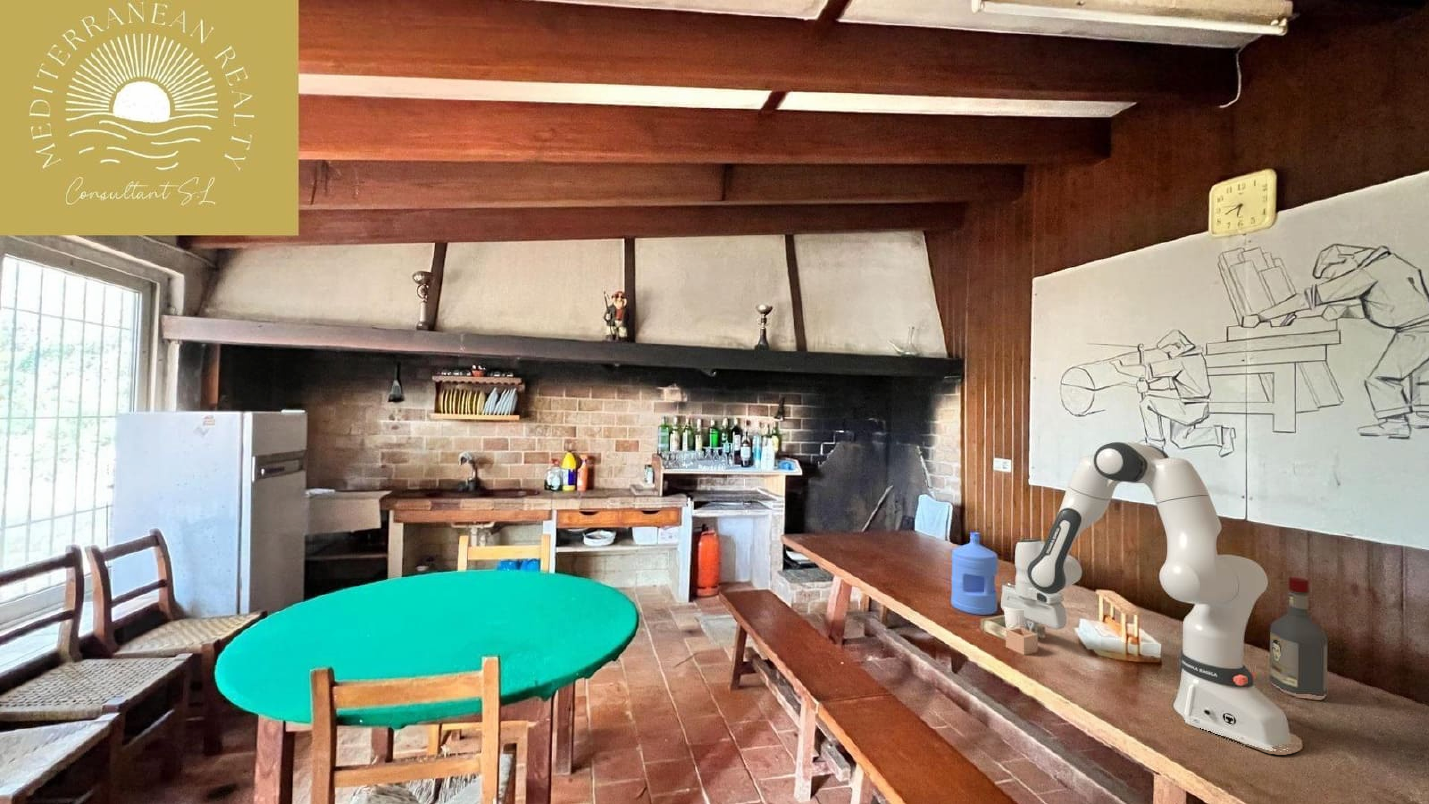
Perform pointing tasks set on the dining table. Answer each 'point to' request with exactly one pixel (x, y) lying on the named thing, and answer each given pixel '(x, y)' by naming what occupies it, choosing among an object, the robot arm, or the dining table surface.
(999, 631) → the birch bay
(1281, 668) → the liquor
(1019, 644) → the open-top wooden box
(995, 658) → the dining table surface
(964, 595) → the water jug
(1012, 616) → the white cup
